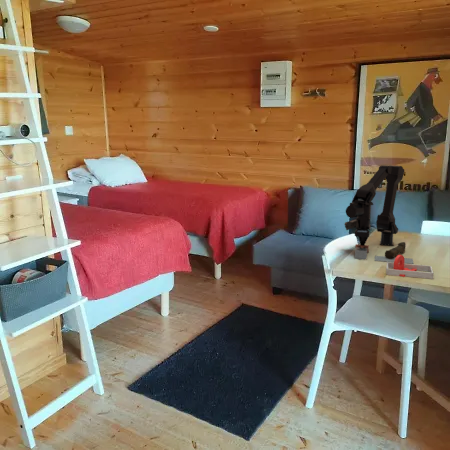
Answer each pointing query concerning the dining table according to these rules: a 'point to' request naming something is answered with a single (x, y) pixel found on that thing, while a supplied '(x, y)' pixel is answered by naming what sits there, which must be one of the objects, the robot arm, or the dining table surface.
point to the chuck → (360, 253)
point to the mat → (393, 259)
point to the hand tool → (395, 250)
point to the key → (362, 246)
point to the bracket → (401, 264)
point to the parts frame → (411, 273)
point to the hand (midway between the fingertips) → (361, 247)
